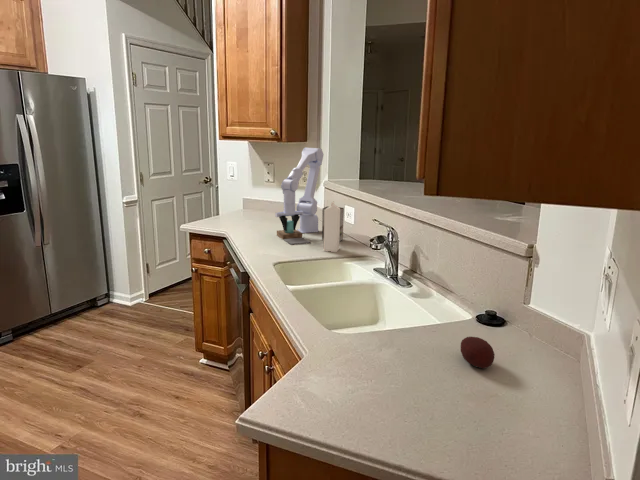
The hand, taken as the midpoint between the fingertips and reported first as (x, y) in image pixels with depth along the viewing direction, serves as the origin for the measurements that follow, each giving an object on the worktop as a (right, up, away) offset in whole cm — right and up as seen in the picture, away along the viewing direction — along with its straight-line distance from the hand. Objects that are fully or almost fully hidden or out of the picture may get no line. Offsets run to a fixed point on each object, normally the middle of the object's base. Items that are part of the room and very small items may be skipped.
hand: (289, 230), depth 233 cm
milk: (+21, -10, -23) cm, 32 cm away
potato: (+52, -34, -123) cm, 138 cm away
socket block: (0, -3, +1) cm, 3 cm away
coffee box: (+22, -5, -4) cm, 22 cm away
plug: (0, -3, +1) cm, 3 cm away
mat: (+4, -6, -9) cm, 11 cm away
